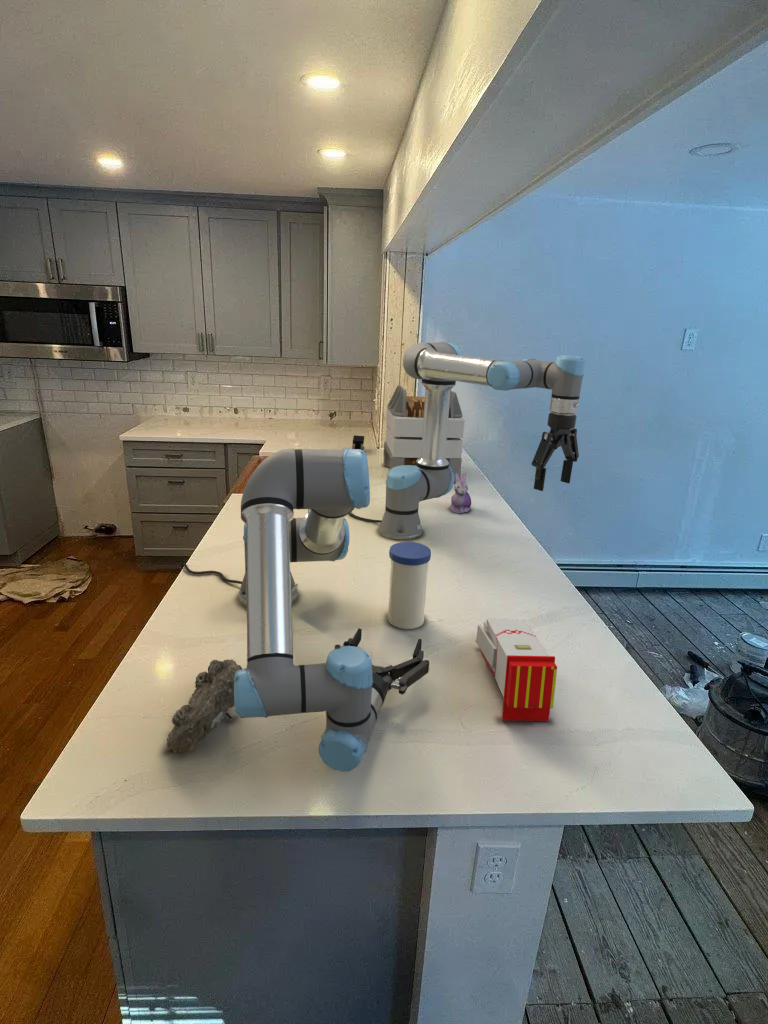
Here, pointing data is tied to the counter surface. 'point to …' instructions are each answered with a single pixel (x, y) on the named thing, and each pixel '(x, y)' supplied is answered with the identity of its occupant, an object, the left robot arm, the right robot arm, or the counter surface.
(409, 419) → the light grey boxy frame
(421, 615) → the jar
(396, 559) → the lid
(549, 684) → the toy
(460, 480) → the figurine
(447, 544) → the counter surface
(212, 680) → the fossil
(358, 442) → the figurine character
